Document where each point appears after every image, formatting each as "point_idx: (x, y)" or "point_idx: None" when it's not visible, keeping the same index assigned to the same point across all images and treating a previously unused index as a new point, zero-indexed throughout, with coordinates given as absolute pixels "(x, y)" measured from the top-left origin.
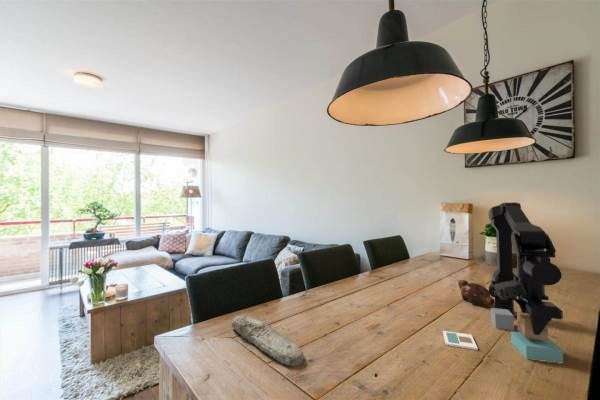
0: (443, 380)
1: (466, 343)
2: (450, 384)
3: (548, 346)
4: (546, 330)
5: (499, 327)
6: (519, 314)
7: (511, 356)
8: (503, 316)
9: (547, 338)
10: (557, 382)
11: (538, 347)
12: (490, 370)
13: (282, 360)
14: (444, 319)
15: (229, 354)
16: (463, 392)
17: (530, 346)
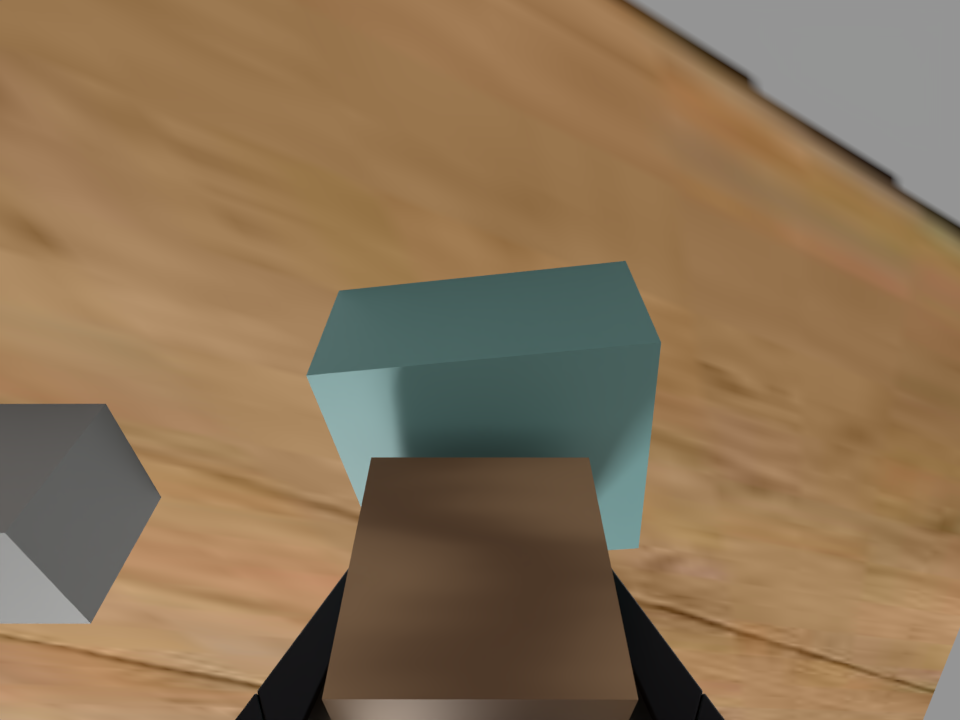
0: (827, 693)
1: None
2: (853, 684)
3: (612, 427)
4: (605, 570)
5: (144, 490)
6: None
7: None
8: (67, 566)
9: (592, 479)
10: (881, 394)
11: (643, 490)
12: (755, 598)
13: None
14: (221, 661)
15: None
16: (904, 668)
17: (638, 528)
